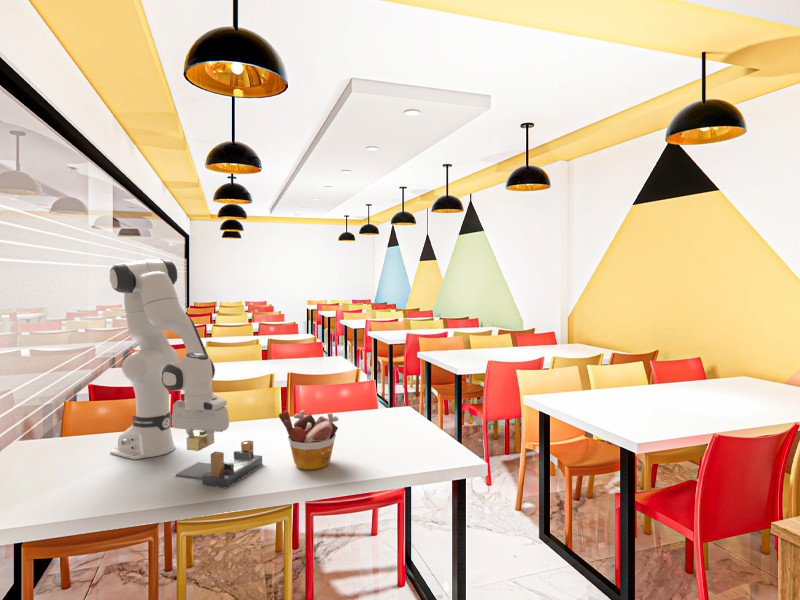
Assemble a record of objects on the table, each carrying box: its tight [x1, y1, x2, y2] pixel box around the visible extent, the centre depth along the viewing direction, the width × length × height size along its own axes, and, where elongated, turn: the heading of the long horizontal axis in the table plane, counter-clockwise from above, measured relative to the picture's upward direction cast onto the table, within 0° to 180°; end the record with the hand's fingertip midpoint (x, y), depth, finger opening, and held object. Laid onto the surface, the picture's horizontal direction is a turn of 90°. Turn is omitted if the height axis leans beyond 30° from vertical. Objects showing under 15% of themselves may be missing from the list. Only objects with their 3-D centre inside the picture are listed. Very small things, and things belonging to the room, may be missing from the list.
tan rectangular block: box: [185, 430, 215, 452], centre depth 164 cm, size 8×4×5 cm, turn 164°
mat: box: [175, 461, 211, 480], centre depth 165 cm, size 11×11×1 cm
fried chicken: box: [278, 409, 339, 471], centre depth 170 cm, size 20×16×20 cm
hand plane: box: [201, 440, 263, 489], centre depth 162 cm, size 20×9×10 cm, turn 164°
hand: (200, 442), depth 164 cm, fingers closed on tan rectangular block, 4 cm apart
